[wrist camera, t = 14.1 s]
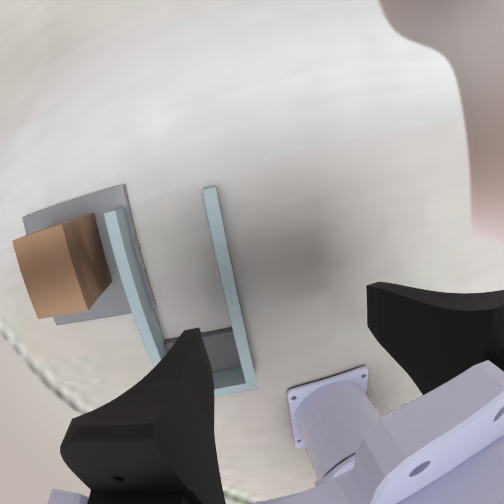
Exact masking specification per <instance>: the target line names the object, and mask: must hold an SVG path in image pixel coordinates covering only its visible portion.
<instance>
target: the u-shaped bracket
mask: <svg viewBox="0 0 504 504" xmlns="http://www.w3.org/2000/svg"><path fill="white" fill-rule="evenodd" d="M203 195H204V200H205V206H206V211H207V216H208V220H209V225H210V230H211V235H212V240H213V245H214V249H215V254H216V259H217V263H218V268H219V272H220V277H221V281H222V286H223V290H224V295H225V299H226V303H227V308H228V312H229V316H230V320H231V325H232V328H227V329H222V330H217V331H212V332H207V333H202V334H201V336H202V339H203V342H204V345H205V348H206V351H207V354H208V357H209V360H210V363H211V366H212V372H213V380H214V397H218V396H223V395H229V394H234V393H239V392H244V391H249V390H253V389H258V386H257V381H256V377H255V373H254V368H253V364H252V359H251V355H250V350H249V346H248V341H247V337H246V332H245V328H244V323H243V319H242V314H241V309H240V305H239V300H238V295H237V291H236V286H235V281H234V276H233V271H232V266H231V262H230V257H229V252H228V247H227V242H226V237H225V232H224V227H223V222H222V217H221V211H220V206H219V201H218V196H217V191H216V187H215V186H213V187H208V188H203ZM104 216H105V221H106V225H107V229H108V233H109V237H110V241H111V245H112V248H113V252H114V256H115V259H116V263H117V266H118V270H119V273H120V276H121V280H122V283H123V286H124V289H125V292H126V295H127V298H128V301H129V304H130V307H131V310H132V313H133V316H134V319H135V322H136V324H137V327H138V330H139V332H140V335H141V338H142V340H143V343H144V346H145V348H146V351H147V353H148V356H149V358H150V360H151V363H152V365H153V368H154V367H155V366H156V365H157V364H158V363H159V362H160V361H161V359H162V358H163V357H164V356H165V355H166V354H167V352H168V351H169V350H170V349H171V347H172V346H173V345H174V343H175V342H176V341H177V339H178V338H174V339H168V340H164V338H163V335H162V332H161V329H160V326H159V323H158V320H157V317H156V314H155V311H154V309H151V306H150V303H149V300H148V297H147V294H146V290H145V287H144V284H143V280H142V277H141V274H140V270H139V267H138V263H137V259H136V256H135V252H134V248H133V244H132V240H131V236H130V232H129V228H128V224H127V220H126V215H125V211H124V207H123V208H119V209H115V210H112V211H109V212H107V213H104Z"/></svg>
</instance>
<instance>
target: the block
mask: <svg viewBox="0 0 504 504" xmlns="http://www.w3.org/2000/svg"><path fill="white" fill-rule="evenodd" d="M12 242H13V246H14V249H15V253H16V256H17V260H18V263H19V267H20V270H21V273H22V276H23V279H24V282H25V285H26V288H27V291H28V294H29V296H30V299H31V302H32V304H33V307H34V310H35V312H36V315H37V317H38V319H41V318H48V317H54V316H60V315H66V314H72V313H78V312H84V311H89V309H90V308H91V307H92V306H93V304H94V303H95V302H96V301H97V299H98V298H99V297H100V296H101V295H102V293H103V292H104V291H105V290H106V288H107V287H108V286H109V285H110V284H111V283H112V278H111V274H110V271H109V268H108V264H107V261H106V257H105V254H104V250H103V246H102V242H101V239H100V235H99V231H98V227H97V222H96V218H95V214H94V213H92V214H88V215H85V216H81V217H78V218H75V219H71V220H68V221H65V222H62V223H58V224H55V225H52V226H49V227H46V228H44V229H41V230H38V231H36V232H33V233H31V234H28V235H26V236H23V237H21V238H18V239H16V240H13V241H12Z"/></svg>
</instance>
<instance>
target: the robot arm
mask: <svg viewBox="0 0 504 504" xmlns="http://www.w3.org/2000/svg"><path fill="white" fill-rule="evenodd" d="M366 287H367V323H368V327H369V329H370V331H371V332H372V334H373V335H374V337H375V338H376V339H377V341H378V342H379V343H380V344H381V345H382V347H383V348H384V349H385V350H386V351H387V352H388V353H389V354H390V355H391V356H392V357H393V358H394V359H395V360H396V361H397V362H398V364H399V365H400V366H401V367H402V368H403V369H404V370H405V371H406V372H407V373H408V375H409V376H410V377H411V378H412V380H413V381H414V382H415V384H416V385H417V387H418V388H419V390H420V391H421V393H422V394H423V396H421V397H419V398H417V399H415V400H413V401H411V402H409V403H407V404H405V405H403V406H401V407H399V408H397V409H396V410H394V411H393V412H391V413H390V414H388V415H386V416H385V417H383V418H382V417H381V415H380V414H379V412H378V411H377V410H376V408H375V407H374V405H373V404H372V403H371V401H370V400H369V398H368V397H367V384H368V368H367V367H366V366H362V367H360V368H357V369H354V370H351V371H348V372H345V373H342V374H339V375H336V376H333V377H330V378H327V379H323V380H320V381H317V382H313V383H310V384H306V385H303V386H299V387H295V388H292V389H290V390H288V392H287V397H288V403H289V410H290V417H291V423H292V430H293V436H294V443H295V447H296V448H302V447H306V450H307V452H308V455H309V458H310V460H311V463H312V465H313V468H314V471H315V473H316V476H317V478H318V481H316V482H315V484H316V487H314V488H311V489H309V490H307V491H304V492H300V493H296V494H293V495H289V496H284V497H280V498H276V499H271V500H266V501H261V502H256V503H250V504H504V290H501V291H494V292H486V293H469V294H460V293H444V292H436V291H429V290H423V289H417V288H412V287H407V286H402V285H397V284H392V283H385V282H377V283H373V284H370V285H367V286H366ZM363 374H364V375H363ZM362 375H363V376H362ZM293 396H295V397H293ZM292 397H293V398H292ZM60 453H61V456H62V458H63V460H64V462H65V463H66V464H67V466H68V467H69V468H70V469H71V470H72V471H73V472H74V473H75V475H76V476H77V477H79V479H80V480H81V481H83V483H85V484H86V485H87V486H88V487H89V488H90V489H91V493H90V496H89V498H88V497H87V496H84V495H82V494H79V493H74V492H68V491H62V490H57V489H53V490H52V492H51V495H50V498H49V501H48V504H226V503H225V499H224V494H223V489H222V484H221V478H220V472H219V466H218V460H217V453H216V446H215V437H214V380H213V372H212V366H211V363H210V360H209V357H208V354H207V351H206V348H205V345H204V342H203V339H202V336H201V332H200V329H199V328H195V329H190V330H185V331H184V332H183V333H182V334H181V335H180V337H179V338H178V339H177V341H176V342H175V343H174V345H173V346H172V347H171V349H170V350H169V351H168V352H167V354H166V355H165V356H164V357H163V358H162V359H161V361H160V362H159V363H158V364H157V365H156V366H155V367H154V368H153V369H152V370H151V371H150V372H149V373H148V374H147V375H146V376H145V377H144V378H143V379H142V380H141V381H139V382H138V383H137V384H136V385H135V386H133V387H132V388H130V389H129V390H128V391H126V392H125V393H123V394H122V395H121V396H119V397H117V398H116V399H114V400H112V401H111V402H109V403H107V404H105V405H103V406H101V407H100V408H97V409H95V410H93V411H91V412H88V413H86V414H83V415H81V416H78V417H76V418H74V419H72V421H71V423H70V425H69V428H68V430H67V433H66V435H65V437H64V439H63V442H62V444H61V447H60Z"/></svg>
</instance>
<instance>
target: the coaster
mask: <svg viewBox="0 0 504 504" xmlns="http://www.w3.org/2000/svg"><path fill="white" fill-rule="evenodd" d="M123 207H124V211H125V215H126V220H127V224H128V228H129V232H130V236H131V240H132V244H133V248H134V252H135V256H136V259H137V263H138V267H139V270H140V274H141V277H142V280H143V284H144V287H145V290H146V294H147V297H148V300H149V303H150V306H151V309H155V307H156V304H155V301H154V298H153V294H152V291H151V288H150V284H149V281H148V277H147V274H146V270H145V267H144V263H143V260H142V256H141V252H140V248H139V244H138V240H137V236H136V232H135V228H134V224H133V220H132V215H131V211H130V206H129V202H128V197H127V192H126V187H125V184H124V185H119V186H116V187H112V188H109V189H105V190H102V191H99V192H95V193H92V194H89V195H85V196H82V197H79V198H76V199H73V200H70V201H67V202H64V203H61V204H58V205H55V206H52V207H49V208H46V209H43V210H41V211H38V212H35V213H32V214H30V215H27V216H25V217H22V218H23V222H24V226H25V231H26V235H28V234H31V233H33V232H36V231H38V230H41V229H44V228H46V227H49V226H52V225H55V224H58V223H62V222H65V221H68V220H71V219H75V218H78V217H81V216H85V215H88V214H92V213H94V214H95V218H96V222H97V227H98V231H99V235H100V239H101V242H102V246H103V250H104V254H105V257H106V261H107V264H108V268H109V271H110V274H111V278H112V283H111V284H110V285H109V286H108V287H107V288H106V290H105V291H104V292H103V293H102V295H101V296H100V297H99V298H98V299H97V301H96V302H95V303H94V304H93V306H92V307H91V308H90V309H89V311H84V312H78V313H72V314H66V315H60V316H54V320H55V322H56V325H62V324H69V323H75V322H82V321H88V320H94V319H100V318H106V317H112V316H118V315H124V314H130V313H132V310H131V307H130V304H129V301H128V298H127V295H126V292H125V289H124V286H123V283H122V280H121V276H120V273H119V270H118V266H117V263H116V259H115V256H114V252H113V248H112V245H111V241H110V237H109V233H108V229H107V225H106V221H105V216H104V213H107V212H109V211H112V210H115V209H119V208H123Z"/></svg>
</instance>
